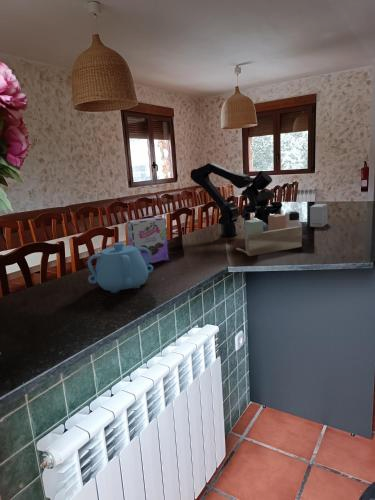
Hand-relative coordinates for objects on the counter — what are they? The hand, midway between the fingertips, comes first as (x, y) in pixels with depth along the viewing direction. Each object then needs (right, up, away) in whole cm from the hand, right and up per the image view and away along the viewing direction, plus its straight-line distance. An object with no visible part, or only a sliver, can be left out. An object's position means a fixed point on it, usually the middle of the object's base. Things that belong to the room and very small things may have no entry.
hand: (269, 224), depth 149 cm
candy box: (-49, -16, -16) cm, 54 cm away
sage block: (-9, -11, -12) cm, 19 cm away
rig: (-3, -10, -8) cm, 13 cm away
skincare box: (+33, +2, +32) cm, 46 cm away
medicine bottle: (+11, -6, +5) cm, 14 cm away
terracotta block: (+2, -8, -3) cm, 9 cm away
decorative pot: (-55, -22, -42) cm, 72 cm away
